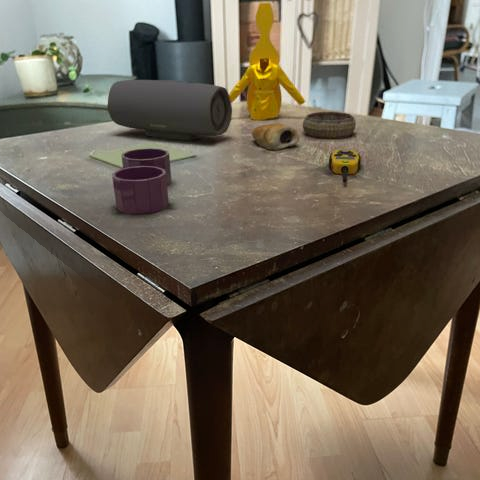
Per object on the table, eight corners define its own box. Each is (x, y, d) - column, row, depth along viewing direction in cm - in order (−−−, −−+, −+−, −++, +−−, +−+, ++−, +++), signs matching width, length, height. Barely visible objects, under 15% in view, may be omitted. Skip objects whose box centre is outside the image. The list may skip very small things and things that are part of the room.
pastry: (242, 141, 100) (242, 120, 98) (272, 137, 103) (272, 116, 101) (272, 151, 93) (273, 128, 91) (303, 146, 96) (304, 124, 94)
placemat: (130, 171, 84) (129, 169, 83) (89, 156, 92) (88, 154, 92) (196, 156, 91) (196, 154, 91) (152, 143, 99) (152, 142, 99)
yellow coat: (223, 121, 117) (219, 3, 105) (225, 114, 123) (221, 3, 112) (305, 120, 116) (310, 1, 105) (302, 113, 123) (307, 1, 112)
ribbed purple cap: (141, 193, 74) (138, 162, 72) (116, 183, 78) (112, 153, 76) (180, 183, 78) (178, 153, 76) (154, 174, 82) (151, 146, 80)
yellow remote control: (360, 147, 87) (363, 173, 74) (359, 159, 88) (361, 187, 75) (330, 147, 87) (327, 172, 75) (329, 159, 88) (326, 186, 76)
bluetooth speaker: (234, 137, 103) (233, 80, 98) (209, 147, 96) (207, 86, 91) (138, 127, 113) (132, 75, 107) (109, 136, 105) (102, 80, 100)
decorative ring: (335, 141, 98) (365, 132, 105) (336, 123, 97) (366, 115, 103) (291, 134, 105) (322, 126, 111) (292, 116, 103) (323, 109, 109)
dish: (134, 218, 66) (130, 184, 64) (107, 205, 70) (102, 173, 68) (178, 205, 69) (176, 173, 67) (149, 194, 74) (146, 163, 72)
